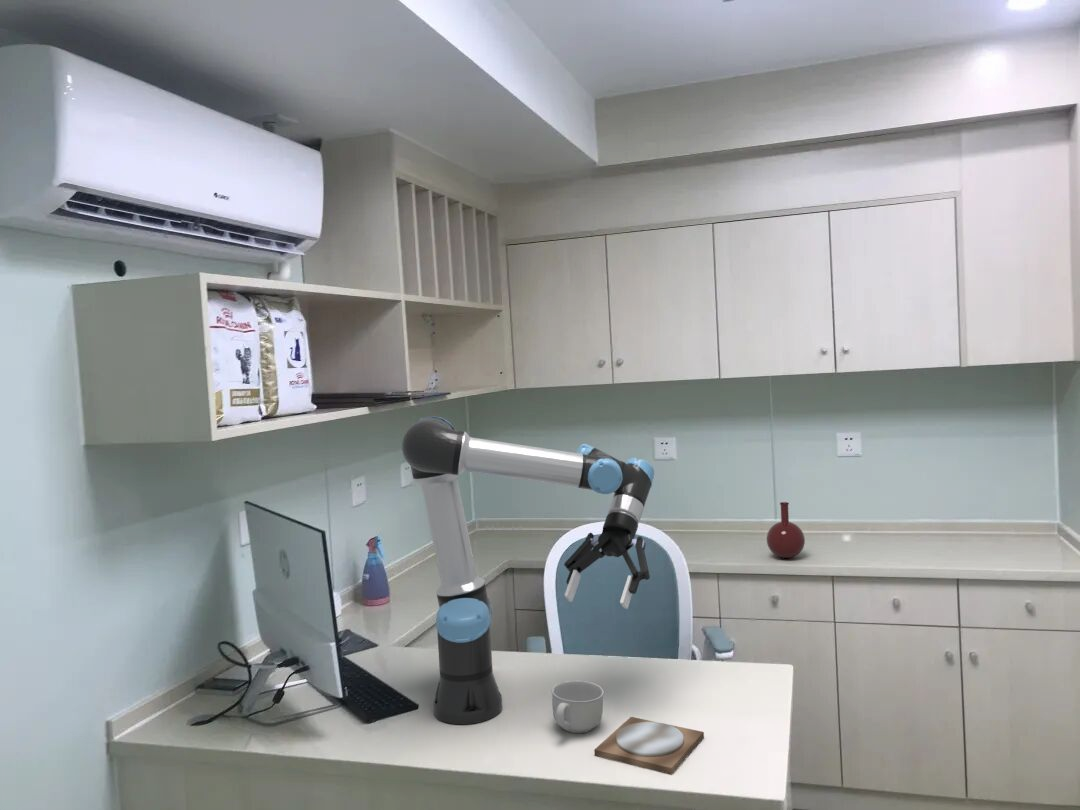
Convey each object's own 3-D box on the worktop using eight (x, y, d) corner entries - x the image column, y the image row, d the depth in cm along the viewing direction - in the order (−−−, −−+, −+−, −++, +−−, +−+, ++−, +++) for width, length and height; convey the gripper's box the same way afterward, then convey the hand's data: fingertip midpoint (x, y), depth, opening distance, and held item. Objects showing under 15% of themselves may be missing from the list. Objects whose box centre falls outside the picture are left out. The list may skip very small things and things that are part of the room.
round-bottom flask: (778, 552, 308) (776, 498, 306) (811, 556, 298) (810, 501, 297) (760, 559, 298) (758, 504, 297) (794, 564, 289) (792, 507, 288)
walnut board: (594, 755, 160) (594, 745, 160) (631, 722, 173) (630, 712, 173) (671, 774, 151) (671, 763, 151) (703, 737, 165) (703, 728, 165)
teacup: (574, 711, 180) (572, 675, 180) (615, 723, 173) (613, 685, 173) (533, 736, 170) (531, 697, 169) (575, 749, 163) (573, 710, 162)
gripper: (678, 531, 186) (654, 617, 175) (582, 525, 200) (553, 604, 188) (667, 513, 182) (641, 599, 170) (569, 507, 195) (539, 587, 183)
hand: (595, 602), depth 179 cm, fingers open, 13 cm apart
